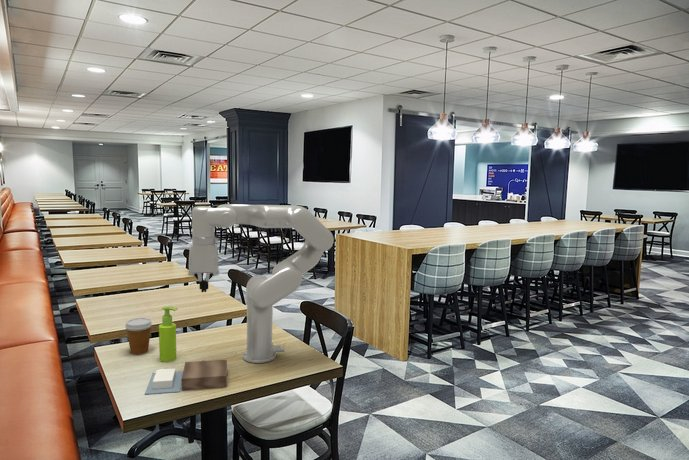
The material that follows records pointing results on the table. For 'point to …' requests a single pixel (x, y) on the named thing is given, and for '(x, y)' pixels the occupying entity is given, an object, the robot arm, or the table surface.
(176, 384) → the mat
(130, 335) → the disposable coffee cup
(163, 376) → the tile
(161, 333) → the soap dispenser
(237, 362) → the table surface
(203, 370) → the brown wooden block
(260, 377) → the table surface
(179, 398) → the table surface
